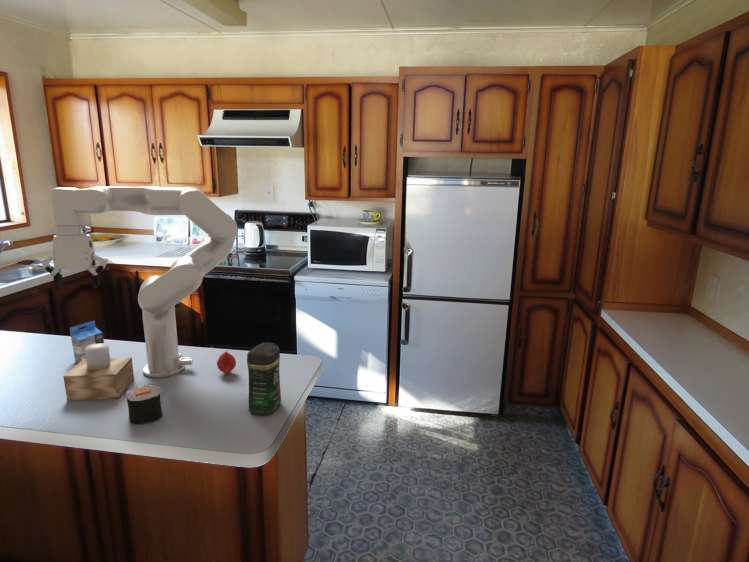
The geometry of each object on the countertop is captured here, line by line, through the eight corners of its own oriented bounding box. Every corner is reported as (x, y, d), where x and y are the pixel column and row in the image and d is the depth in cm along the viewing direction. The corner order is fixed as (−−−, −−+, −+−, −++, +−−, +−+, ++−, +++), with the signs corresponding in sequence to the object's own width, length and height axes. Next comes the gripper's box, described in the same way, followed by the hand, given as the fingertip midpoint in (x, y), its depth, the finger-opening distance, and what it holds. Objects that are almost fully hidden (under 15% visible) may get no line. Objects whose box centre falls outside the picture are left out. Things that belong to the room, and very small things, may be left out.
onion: (213, 375, 150) (212, 352, 148) (225, 368, 156) (224, 346, 154) (228, 378, 148) (227, 355, 146) (240, 371, 154) (238, 349, 152)
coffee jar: (272, 418, 126) (270, 354, 122) (245, 415, 127) (241, 351, 123) (285, 401, 135) (283, 341, 131) (259, 398, 137) (257, 338, 132)
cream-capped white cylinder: (113, 361, 141) (111, 342, 140) (106, 369, 136) (104, 350, 134) (91, 362, 140) (89, 343, 139) (83, 370, 134) (81, 351, 133)
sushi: (165, 419, 125) (162, 392, 123) (130, 427, 120) (127, 399, 118) (160, 406, 131) (157, 380, 129) (127, 413, 127) (124, 387, 125)
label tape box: (81, 363, 157) (76, 329, 154) (74, 361, 159) (69, 327, 156) (106, 354, 165) (101, 321, 162) (98, 352, 167) (94, 320, 164)
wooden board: (131, 359, 145) (131, 357, 145) (116, 376, 133) (116, 374, 133) (83, 360, 143) (83, 358, 143) (63, 378, 131) (63, 376, 131)
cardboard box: (134, 379, 146) (131, 359, 145) (119, 398, 135) (116, 376, 133) (86, 381, 145) (83, 360, 143) (67, 400, 133) (63, 378, 131)
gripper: (107, 229, 140) (113, 284, 144) (43, 228, 137) (51, 285, 141) (99, 232, 133) (105, 290, 137) (30, 232, 130) (39, 291, 134)
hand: (77, 287), depth 139 cm, fingers open, 9 cm apart
